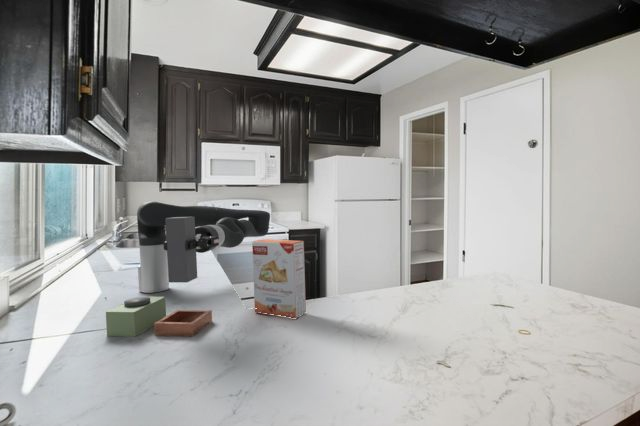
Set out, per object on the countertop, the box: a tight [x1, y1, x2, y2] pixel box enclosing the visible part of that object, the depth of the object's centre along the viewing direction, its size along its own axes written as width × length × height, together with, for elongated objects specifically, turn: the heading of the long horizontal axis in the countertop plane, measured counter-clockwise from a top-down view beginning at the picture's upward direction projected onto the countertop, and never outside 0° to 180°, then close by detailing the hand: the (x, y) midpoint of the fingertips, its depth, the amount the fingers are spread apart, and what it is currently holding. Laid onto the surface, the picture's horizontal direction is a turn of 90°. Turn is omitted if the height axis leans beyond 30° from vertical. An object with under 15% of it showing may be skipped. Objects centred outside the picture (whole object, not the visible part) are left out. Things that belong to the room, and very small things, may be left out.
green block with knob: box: [105, 296, 167, 338], centre depth 89 cm, size 8×13×7 cm, turn 172°
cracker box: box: [251, 238, 307, 319], centre depth 95 cm, size 14×6×21 cm, turn 62°
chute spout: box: [165, 217, 198, 283], centre depth 86 cm, size 5×5×16 cm
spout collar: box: [153, 309, 213, 337], centre depth 86 cm, size 10×10×3 cm
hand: (175, 246), depth 83 cm, fingers closed on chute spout, 5 cm apart
